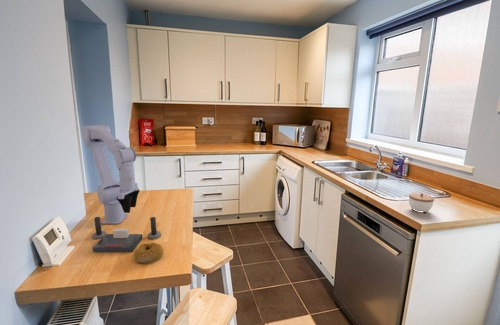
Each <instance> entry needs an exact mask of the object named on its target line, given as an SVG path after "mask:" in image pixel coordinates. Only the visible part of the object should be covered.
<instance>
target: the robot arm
mask: <svg viewBox="0 0 500 325" xmlns="http://www.w3.org/2000/svg"><path fill="white" fill-rule="evenodd" d="M81 132H82V134H81V135H82V137H83V138H82V139H83V141H84V144H85V146H86V147H88V148H90V150H91V153H92V156H93V159H94V160H93V161H94V163H95V165H96V168H97V171H98V175H99V178H100V180H101V183H100V184H99V185H98V186H97V188H96V192H97V199H98V201H99V202H100V203H101V204H102V205H103V209H104V220H103V221H102V222H101V225H103V224H104V225H110V224H111V225H112V224H113V225H116V224H117V225H120V224H121V223H122V222H123V221H124V220H125V219H126V218H127V217H128V216H129V214H130V213H131V208H136V206H137V199H138V197H139V193H140V192H141V191H140V189H139V188H140V187H138V186H139V185H138V184H139V183H136V177H135V176H136V175H135V166H134V165H135V164H134V162H136V160H137V154H136V151H135V149H134V148H133V147H127V146H126V145H125V144H124V143H123V142H122V141H121V140H120V139H119V138H115V137H114V136H113V135H112V134H111V129H110V126H109V125H108V124H97V125H95V124H94V125H83V127H82V130H81ZM105 146H106V148H107V150H108V151H109V152H110V153H111V154H112V155H113V158H114V162H115V164H116V168H117V170H118V178H119V180H116V179H114V176H113V173H112V171H111V167H110V166H111V165H110V164H109V161H108V157H107V155H106V151H105V148H104V147H105Z"/></svg>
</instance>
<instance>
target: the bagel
mask: <svg viewBox="0 0 500 325" xmlns="http://www.w3.org/2000/svg"><path fill="white" fill-rule="evenodd" d="M163 255H164V248H163V245H161V244H160V243H157V242H149V243H142V244H140V246H139V247H138V248H135V249H134V254H133V258H134V261H135V262H136V263H139V264H153V263H155V262H158V261H159V260H160V259H161V258H163Z"/></svg>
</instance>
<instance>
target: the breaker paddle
mask: <svg viewBox="0 0 500 325" xmlns="http://www.w3.org/2000/svg"><path fill="white" fill-rule="evenodd" d="M112 234H113V237H114V238H127V237H128V236H129V234H130V232H129V228H114V229H113V230H112Z"/></svg>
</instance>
